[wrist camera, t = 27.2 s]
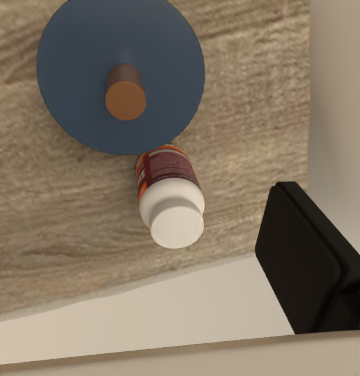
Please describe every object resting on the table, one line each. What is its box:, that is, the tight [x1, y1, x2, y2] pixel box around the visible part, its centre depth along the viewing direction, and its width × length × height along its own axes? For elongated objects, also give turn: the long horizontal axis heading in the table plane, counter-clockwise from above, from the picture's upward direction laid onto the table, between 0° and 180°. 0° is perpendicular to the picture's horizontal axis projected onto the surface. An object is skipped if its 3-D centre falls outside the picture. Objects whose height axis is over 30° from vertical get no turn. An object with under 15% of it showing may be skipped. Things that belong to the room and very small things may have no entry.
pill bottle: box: [136, 144, 205, 249], centre depth 33 cm, size 6×6×11 cm
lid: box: [37, 0, 205, 155], centre depth 24 cm, size 13×13×6 cm
